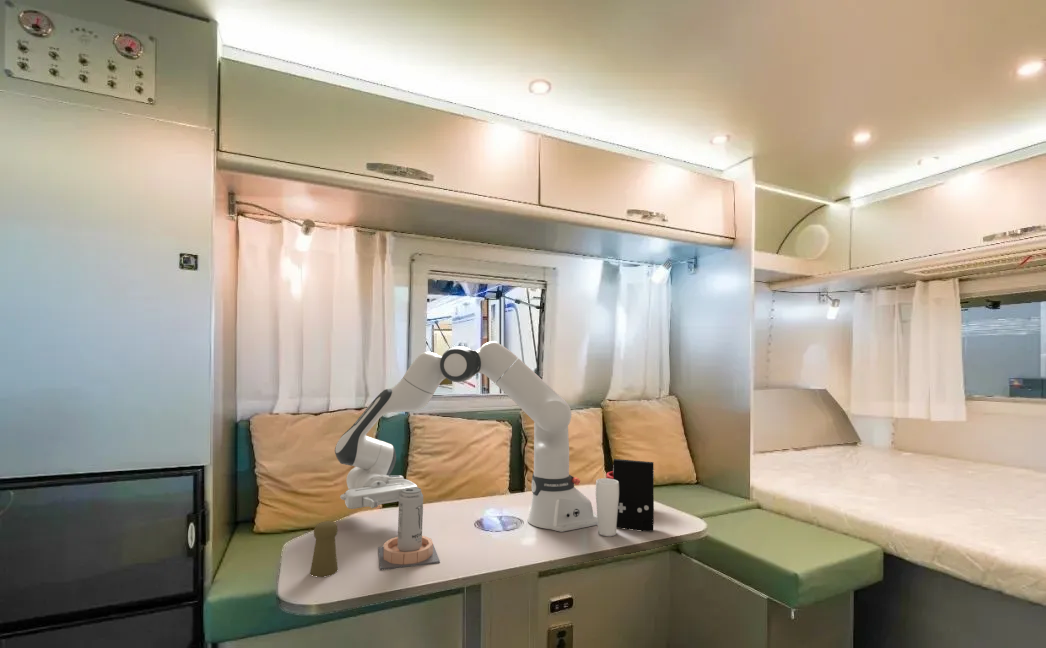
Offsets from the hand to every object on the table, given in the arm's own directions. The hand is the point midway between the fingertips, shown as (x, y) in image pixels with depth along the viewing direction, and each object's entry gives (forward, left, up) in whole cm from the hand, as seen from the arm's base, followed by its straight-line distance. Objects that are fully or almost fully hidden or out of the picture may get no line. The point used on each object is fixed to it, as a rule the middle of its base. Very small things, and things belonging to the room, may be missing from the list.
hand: (392, 501), depth 131 cm
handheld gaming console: (-70, +9, -11) cm, 72 cm away
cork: (+16, +14, -11) cm, 24 cm away
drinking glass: (-60, +11, -11) cm, 62 cm away
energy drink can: (-4, +11, -9) cm, 15 cm away
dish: (-4, +11, -10) cm, 16 cm away
